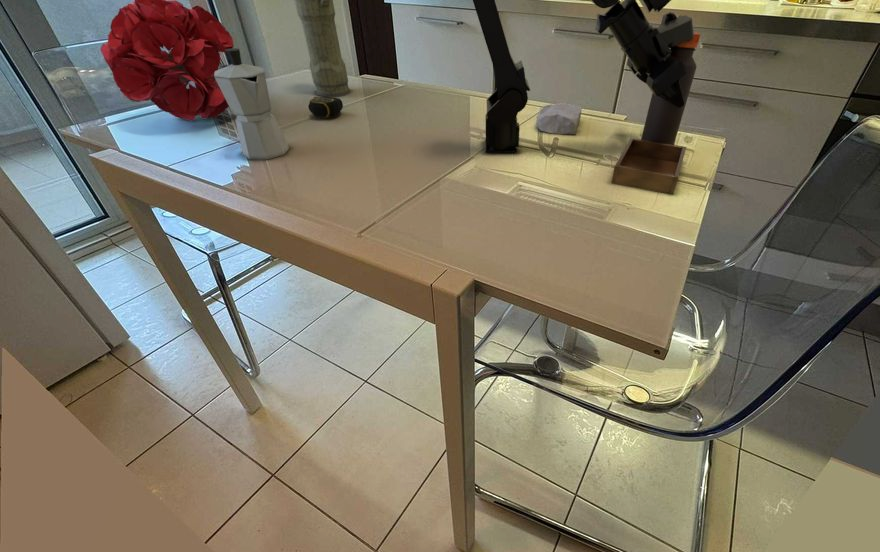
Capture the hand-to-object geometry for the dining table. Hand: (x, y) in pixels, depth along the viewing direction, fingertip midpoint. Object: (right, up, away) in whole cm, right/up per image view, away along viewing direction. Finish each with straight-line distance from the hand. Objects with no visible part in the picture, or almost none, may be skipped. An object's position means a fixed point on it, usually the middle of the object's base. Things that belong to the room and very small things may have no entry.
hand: (675, 100), depth 88 cm
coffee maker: (-83, -9, +2) cm, 83 cm away
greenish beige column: (-80, +18, +33) cm, 88 cm away
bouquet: (-104, +5, +17) cm, 106 cm away
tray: (-6, -15, -3) cm, 17 cm away
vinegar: (-2, -7, +5) cm, 9 cm away
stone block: (-21, +2, +16) cm, 27 cm away
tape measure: (-77, +5, +18) cm, 79 cm away
